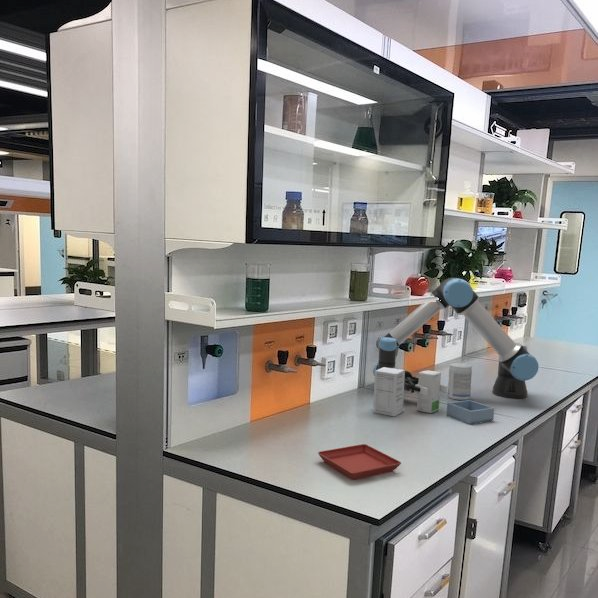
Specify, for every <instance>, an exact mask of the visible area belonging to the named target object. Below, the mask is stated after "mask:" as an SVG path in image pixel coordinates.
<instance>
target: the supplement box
mask: <svg viewBox="0 0 598 598" xmlns="http://www.w3.org/2000/svg"><path fill="white" fill-rule="evenodd" d="M400 369H401V368H399V369H393V368H386V367H383V368H381V369H378V370H376V371H375V376H374V385H373V386H374V387H373V401H372V403H373V405H372V406H373V407H372V413H374V414H379V415H385V416H390V417H391V416H392V417H396V416H397V415H399V414H401V413H403V412H404V399H405V398H404V397H405V396H404V395H405V389H404V379H405V371H406V370H405V369H402V370H400Z"/></svg>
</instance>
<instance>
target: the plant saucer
mask: <svg viewBox="0 0 598 598" xmlns="http://www.w3.org/2000/svg"><path fill="white" fill-rule="evenodd" d="M317 453H318V455H319V457H320V458H321V460H322V461H323V462H324V463H325V464H327V465H328V466H330V467H332V468H334V469H335V470H336V471H338V472H340V473H341V474H343V475H345V476H346V477H347V478H349V479H351V480H359V479H363V478H367V477H368V478H369V477H372V476H377V475H382V474H386V473H391V472H394V471H395V470H396V469H398V468H399V467H400V466H401V464H402V462H401V461H400V460H397V459H396V458H394V457H392V456H390V455H388V454H385V453H384V452H382V451H379V450H378V449H376V448H374V447H373V446H370V445H368V444H366V443H365V444H364V443H363V444H356V445H351V446H345V447H339V448H334V449H327V450H326V449H325V450H322V451H318V452H317Z"/></svg>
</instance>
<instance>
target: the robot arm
mask: <svg viewBox="0 0 598 598" xmlns="http://www.w3.org/2000/svg"><path fill="white" fill-rule="evenodd" d="M430 296H434V297H438V298H439V300H436V302H430V303H424V302H423V303H424V304H422V303H420V305H419V306H418V307H417V308H415V309H414V310H413V311H412V312H411V313H410V314H408V315H407V316H406V317H405V318H404V319H403V320H402V321H401V322H400V323H398V324H397V325H396V326H395V327H394V328H393V329H392V330H390V331H389V332H388V333H386V335H384V336H382V337H381V339H380V338H379V339H380V341H379V340H378V341H379V342H378V341H377V343H378V347H377V349H378V363H376V364H375V365H374V367H373V369H372V374H373V376H374V377H375V371H376V370H378V369H381V368H383V367H386V368H393V369H400V370H403V369H402V368H399V367H396V359H397V348H398V347H399V346H400V345H402V344H403V343H404V342H405V341H406V340H407V339H408V338H409V337H411V336H412V335H413V334H414V333H416V332H417V331H418V330H419V329H420V328H421V327H422V326H424V325H425V324H426V323H427V322H428V321H430V320H431V319H432V318H433V317H434V316H435V315H436V314H438V313H439V312H440V311H441V310H446V309H447V308H448V307H451V309H452V310H453V311H455V313H456V314H457V315H463V316H464V318H465V319H466V320H467V321H468V322H469V323H470V324H471V326H472V327H473V328H475V330H476V331H477V332H478V333H479V335H480V336H481V337H482V338H483V339H484V340H485V341H486V342H487V344H488V345H489V346H490V347H491V348H492V349H493V350H494V351H495V353H497V355H498V366H497V367H498V368H497V369H498V370H497V377H496V380H495V382H494V384H493V386H492V391H491V392H492V393H493V394H494V395H496V396H500V397H502V396H503V398H509V399H510V398H511V399H525V398H528V391H529V390H527V385H526V381H530V380H531V379H534V377H536V375H537V374H538V372H539V362H538V360H537V358H536V357H535V356H534V355H532V354H531V353H530V352H529V351H528V347H527V345H522V343H520V342H515V341H514V340H513V339H512V338H511V336H510V335H509V334H508V333H507V332H506V330H504V328H502V326H501V325H500V324H499V323H498V322H497V320H495V318H493V317H492V315H491V314H490V312H488V311H487V309H486V308H484V306H483V305H482V304H481V303H480V301H479V300H480V299H479V298H480V296H479V295H478V294H477V292H475V290H474V289H473V287H472V286H471V284H470V283H469V282H468V281H466V280H465V279H462V278H457V277H448V278H446V279H444V280H443V281H442V282H441V283H440V284H438V286H437V287H436V288H435V289H434V290H433V291H432V292H430ZM430 296H429V297H430ZM440 300H441V301H440ZM418 382H419V377H416V376H414V375H412V373H411V372H410V371H407V370H405V379H404V391H407V392H411V393H412V394H414V393H415V392H417V394H418V393H421V394H424V395H427V393H428V388H425V387H422V386H420V385H418ZM440 392H441V393H445V394H448V386H447V385H445V384H442V383H440Z"/></svg>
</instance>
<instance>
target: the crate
mask: <svg viewBox="0 0 598 598" xmlns="http://www.w3.org/2000/svg"><path fill="white" fill-rule="evenodd" d="M494 415H495V408H494V407H492V406H490V405H486V404H483V403H480V402H477V401H474V400H472V399H468V400H458V401H452V402H447V404H446V416H447V417H449V416H450V417H449V418H452V419H454V420H458V421H461V422H463V423H465V424H468V425H476V424H475V423H477V424H481V423H480V422H483V423H487V422H486V421H489V422H493V421H494ZM492 420H493V421H492Z"/></svg>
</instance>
